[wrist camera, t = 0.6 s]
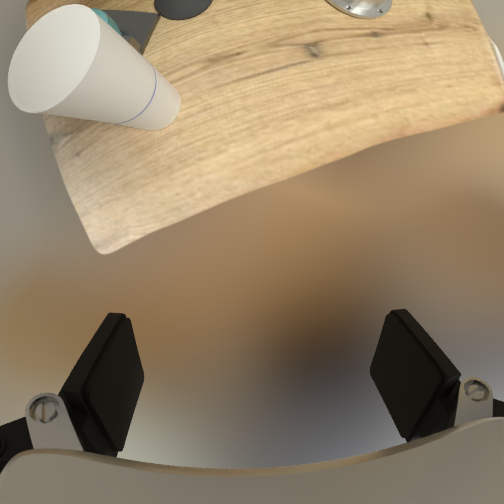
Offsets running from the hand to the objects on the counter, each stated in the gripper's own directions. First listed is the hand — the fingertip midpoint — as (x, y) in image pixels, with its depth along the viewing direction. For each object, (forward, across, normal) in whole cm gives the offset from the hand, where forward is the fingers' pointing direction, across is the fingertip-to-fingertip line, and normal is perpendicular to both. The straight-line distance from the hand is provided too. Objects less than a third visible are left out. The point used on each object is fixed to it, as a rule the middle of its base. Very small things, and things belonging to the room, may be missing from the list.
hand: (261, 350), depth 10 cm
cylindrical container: (+31, +12, -13) cm, 36 cm away
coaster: (+31, +9, -30) cm, 45 cm away
